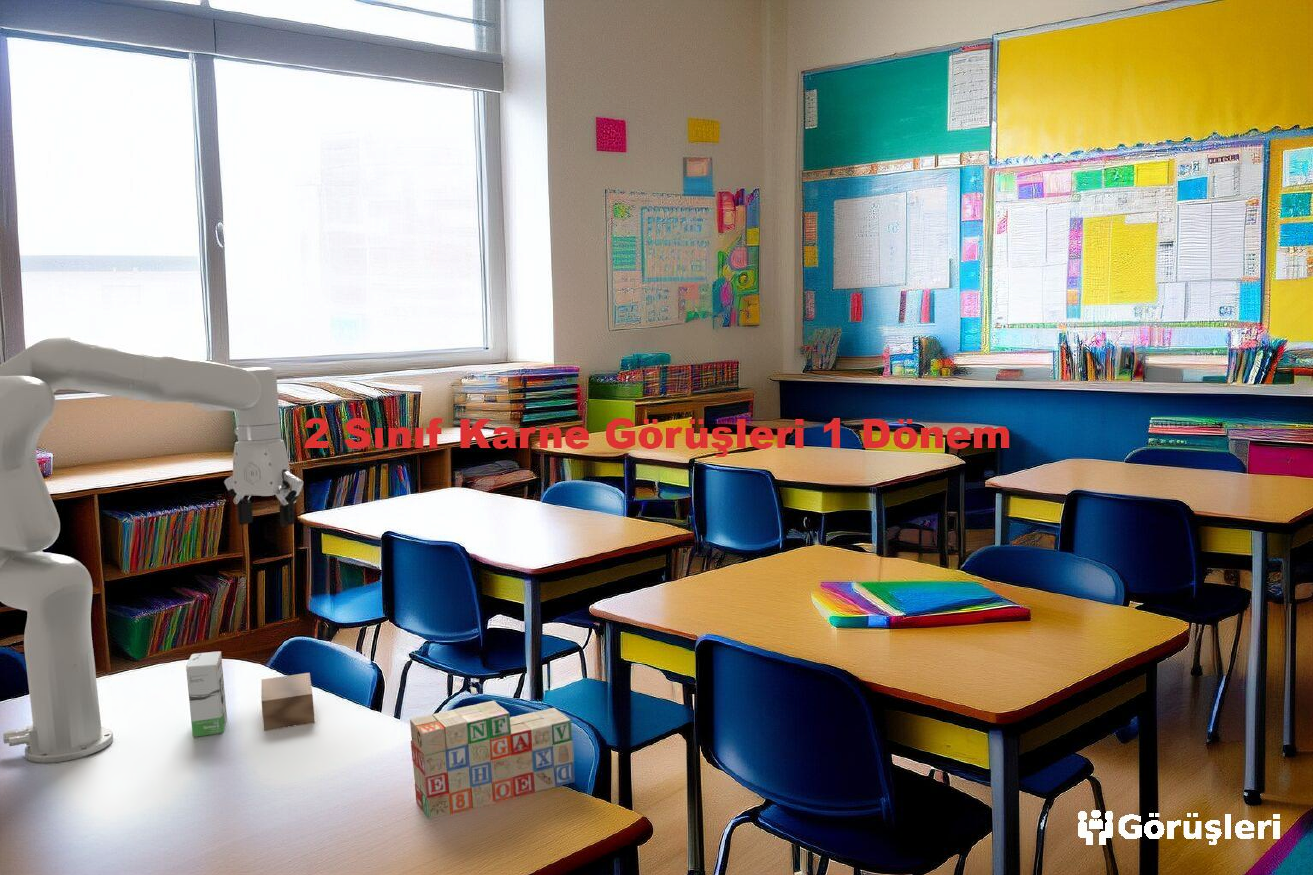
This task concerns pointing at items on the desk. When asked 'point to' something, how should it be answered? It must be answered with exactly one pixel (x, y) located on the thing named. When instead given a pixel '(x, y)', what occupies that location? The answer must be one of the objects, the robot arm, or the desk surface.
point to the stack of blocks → (487, 756)
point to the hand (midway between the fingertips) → (266, 524)
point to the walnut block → (287, 701)
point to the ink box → (206, 693)
